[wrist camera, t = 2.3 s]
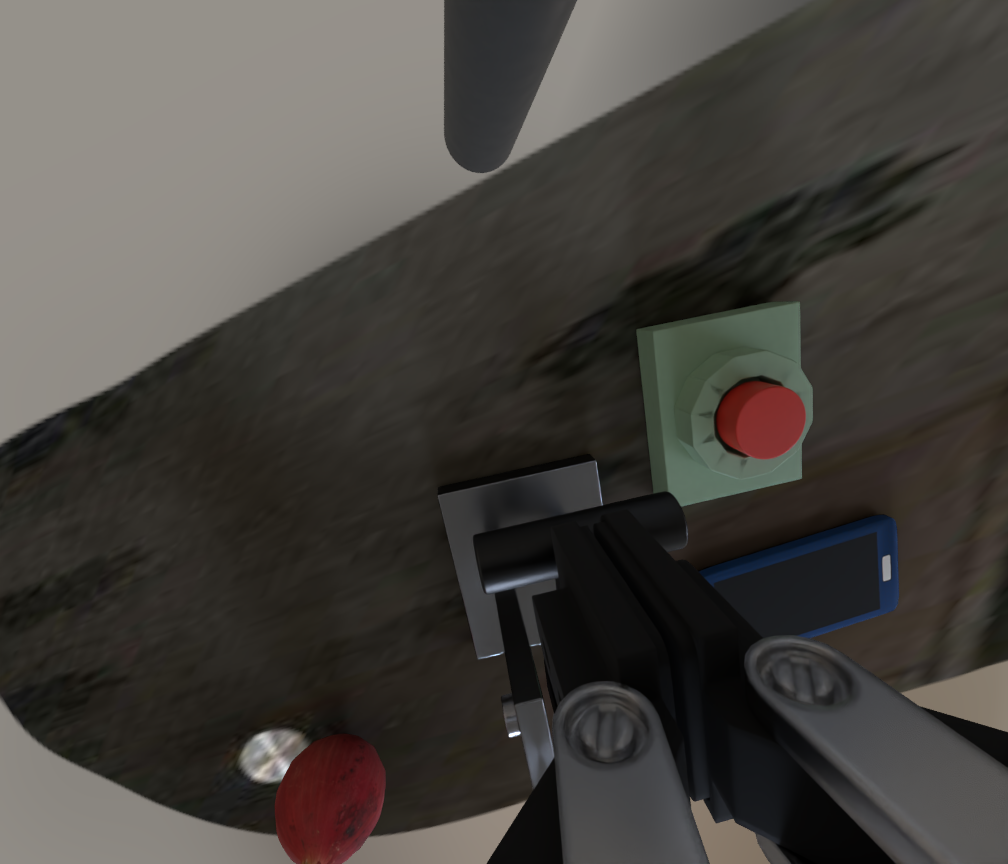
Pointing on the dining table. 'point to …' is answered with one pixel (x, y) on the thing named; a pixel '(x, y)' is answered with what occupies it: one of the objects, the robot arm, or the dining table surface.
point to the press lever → (530, 550)
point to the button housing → (717, 397)
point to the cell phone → (815, 580)
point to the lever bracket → (510, 613)
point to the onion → (330, 800)
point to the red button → (761, 419)
